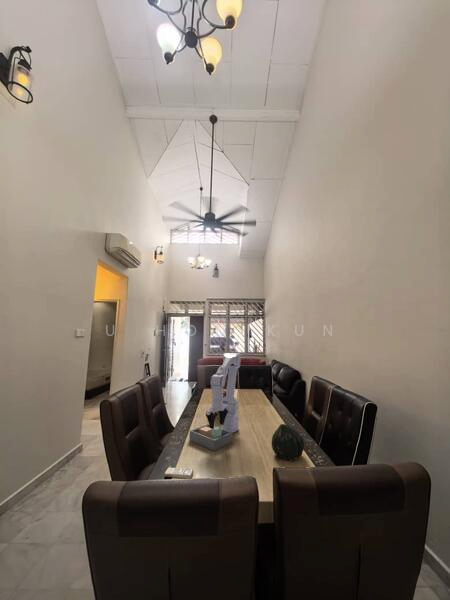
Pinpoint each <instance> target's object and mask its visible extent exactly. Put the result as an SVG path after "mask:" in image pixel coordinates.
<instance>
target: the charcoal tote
mask: <svg viewBox="0 0 450 600" xmlns="http://www.w3.org/2000/svg"><path fill="white" fill-rule="evenodd" d="M203 427H209V428H210V426H209V423H208V424H205V425H202V426H199V427H196V428H194V429H191V430H189V442H191V443H193V444H195V445H198V446H200V447H203V448H206V449H207V450H210V451H212V452H217V451H218V450H220V449H222V448H224V447H227V446H228V445H231V444H233V433H232V432H229V431H226V430H223V429H222V435H221V437H219V438H217V439H212V438H209V437H207V436H204V435H202V434H199V429H200V428H203ZM214 427H216V426H215V425H214Z"/></svg>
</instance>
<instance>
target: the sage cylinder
mask: <svg viewBox="0 0 450 600" xmlns="http://www.w3.org/2000/svg"><path fill="white" fill-rule="evenodd" d="M221 435H222V427H219V426H215V427H214V429H212V439H217V438H219V437H221Z"/></svg>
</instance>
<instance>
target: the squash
mask: <svg viewBox="0 0 450 600" xmlns="http://www.w3.org/2000/svg"><path fill="white" fill-rule="evenodd" d="M271 448H272V450H273V452H274V455H276V456H277V457H278V458H280V459H281V458H282V460H284V461H288V460H290V461H295V460H296V459H298V458H300V457H302V455H303V452H304V449H305V441H304V439H303V436H302V435H301V434H300V432H298V430H297V429H296V428H294V427H292V426H290V425H288V424H285V423H281V424H280V425H279V426H278V427H277V428H276V430H275V431H274V433H273V434H272V437H271Z"/></svg>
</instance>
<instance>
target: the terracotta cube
mask: <svg viewBox="0 0 450 600" xmlns="http://www.w3.org/2000/svg"><path fill="white" fill-rule="evenodd" d="M199 434H202V435H204V436H207V437H209V438H212V429H211V428H209V427H203V428H200V429H199Z"/></svg>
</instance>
